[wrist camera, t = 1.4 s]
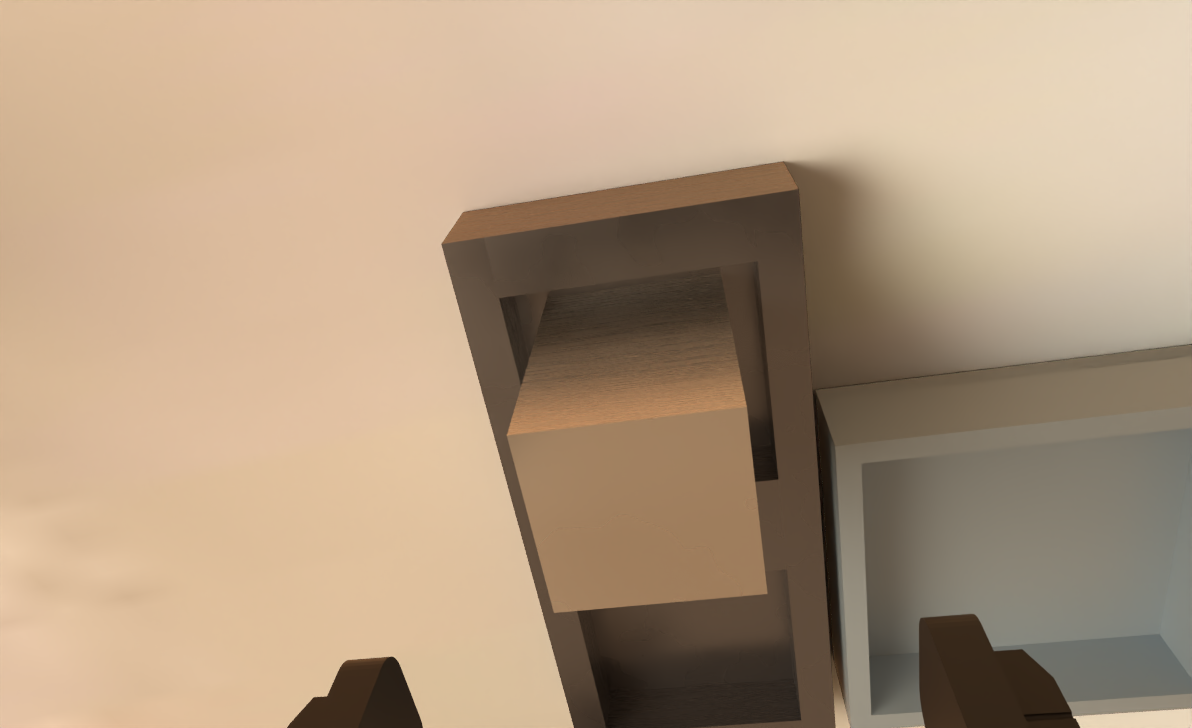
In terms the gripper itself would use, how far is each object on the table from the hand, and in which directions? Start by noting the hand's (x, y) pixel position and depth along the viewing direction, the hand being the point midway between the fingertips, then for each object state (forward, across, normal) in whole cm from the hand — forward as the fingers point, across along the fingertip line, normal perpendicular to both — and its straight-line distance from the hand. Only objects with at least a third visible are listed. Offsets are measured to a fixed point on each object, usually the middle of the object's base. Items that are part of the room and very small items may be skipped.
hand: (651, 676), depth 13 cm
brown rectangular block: (+10, 0, 0) cm, 10 cm away
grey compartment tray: (+11, 0, +4) cm, 12 cm away
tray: (+11, -9, +7) cm, 16 cm away
